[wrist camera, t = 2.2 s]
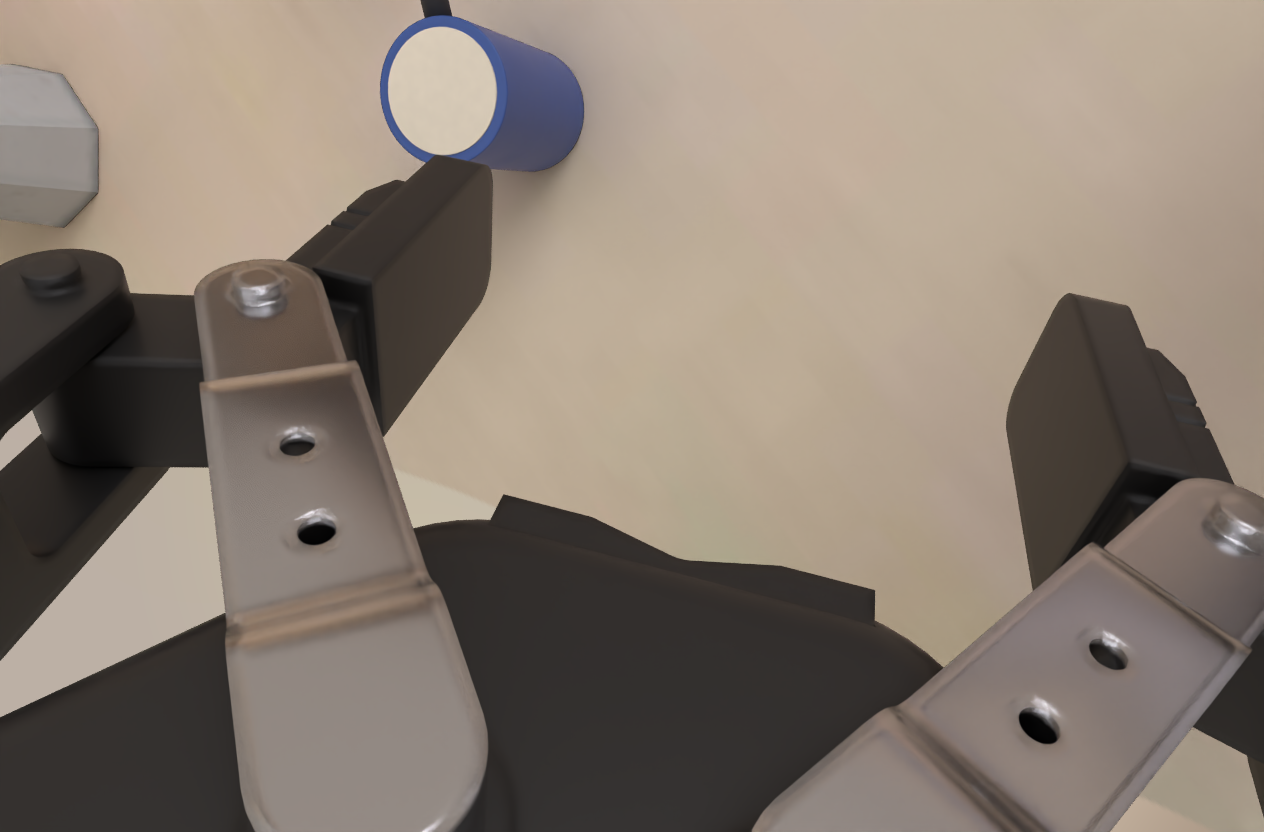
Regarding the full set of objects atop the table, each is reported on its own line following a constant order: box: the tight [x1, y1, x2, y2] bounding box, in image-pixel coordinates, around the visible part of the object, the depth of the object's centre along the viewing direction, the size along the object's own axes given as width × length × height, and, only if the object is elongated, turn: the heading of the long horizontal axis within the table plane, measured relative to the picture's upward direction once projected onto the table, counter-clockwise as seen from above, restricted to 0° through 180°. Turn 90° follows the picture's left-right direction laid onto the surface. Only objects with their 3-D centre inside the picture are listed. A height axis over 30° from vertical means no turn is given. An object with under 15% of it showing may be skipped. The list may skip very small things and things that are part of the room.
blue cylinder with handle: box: [380, 0, 584, 172], centre depth 35 cm, size 5×10×8 cm, turn 13°
